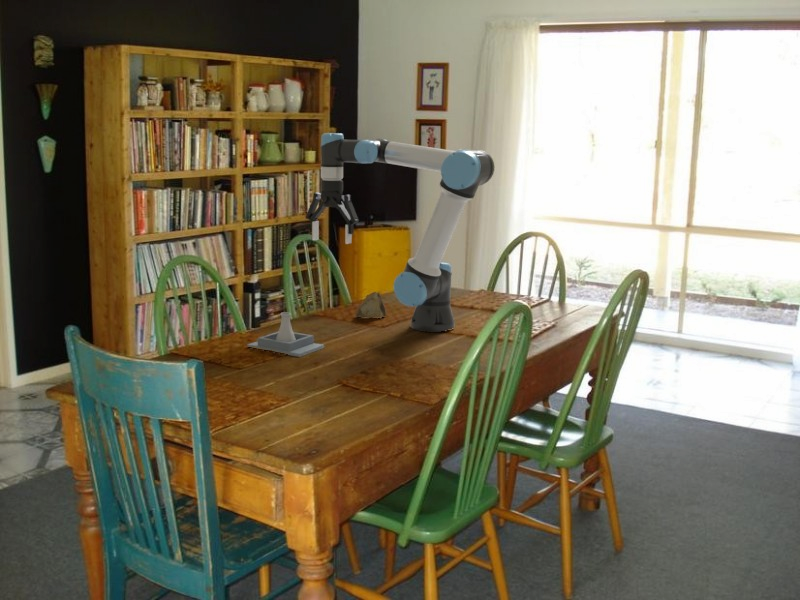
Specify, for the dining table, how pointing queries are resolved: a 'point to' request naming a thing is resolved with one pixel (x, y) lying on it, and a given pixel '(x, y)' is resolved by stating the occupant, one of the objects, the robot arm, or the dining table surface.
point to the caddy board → (288, 344)
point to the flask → (285, 329)
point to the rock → (371, 306)
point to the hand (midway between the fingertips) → (331, 241)
